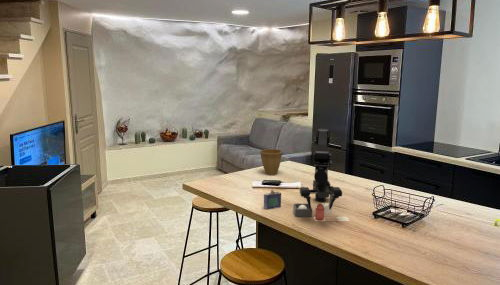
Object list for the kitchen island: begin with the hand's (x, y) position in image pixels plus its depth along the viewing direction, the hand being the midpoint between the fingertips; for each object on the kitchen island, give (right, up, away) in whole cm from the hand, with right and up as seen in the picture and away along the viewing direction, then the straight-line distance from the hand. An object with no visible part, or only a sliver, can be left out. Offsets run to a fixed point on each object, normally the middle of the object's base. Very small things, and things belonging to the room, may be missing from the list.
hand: (319, 209), depth 173 cm
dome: (-7, -3, +7) cm, 11 cm away
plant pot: (-18, +9, +83) cm, 85 cm away
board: (+1, -5, +5) cm, 7 cm away
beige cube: (+5, -3, +10) cm, 11 cm away
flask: (-21, -3, +16) cm, 27 cm away
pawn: (0, -5, +1) cm, 5 cm away
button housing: (-7, -4, +7) cm, 11 cm away
